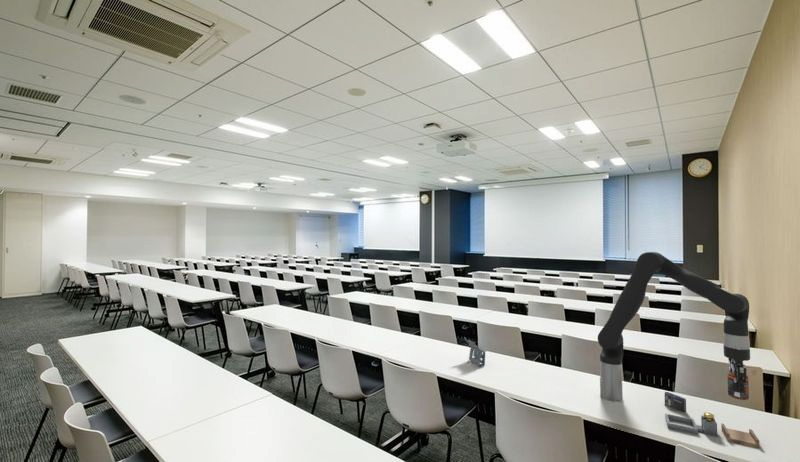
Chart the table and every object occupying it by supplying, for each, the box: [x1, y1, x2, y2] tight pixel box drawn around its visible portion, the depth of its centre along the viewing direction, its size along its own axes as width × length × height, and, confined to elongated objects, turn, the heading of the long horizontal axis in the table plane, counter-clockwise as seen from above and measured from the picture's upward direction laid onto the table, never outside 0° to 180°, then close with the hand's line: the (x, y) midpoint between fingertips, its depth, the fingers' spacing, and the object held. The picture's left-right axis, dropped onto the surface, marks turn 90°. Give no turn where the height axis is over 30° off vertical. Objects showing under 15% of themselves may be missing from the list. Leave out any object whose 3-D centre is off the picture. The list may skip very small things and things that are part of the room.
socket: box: [664, 413, 718, 438], centre depth 146 cm, size 16×10×5 cm, turn 58°
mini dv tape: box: [664, 391, 687, 414], centre depth 163 cm, size 8×2×6 cm, turn 21°
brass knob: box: [703, 411, 715, 421], centre depth 143 cm, size 3×3×6 cm
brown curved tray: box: [720, 423, 761, 449], centre depth 138 cm, size 9×9×3 cm
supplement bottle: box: [726, 368, 750, 401], centre depth 139 cm, size 6×6×11 cm
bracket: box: [463, 336, 487, 367], centre depth 223 cm, size 13×10×15 cm
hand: (737, 389), depth 139 cm, fingers closed on supplement bottle, 6 cm apart
